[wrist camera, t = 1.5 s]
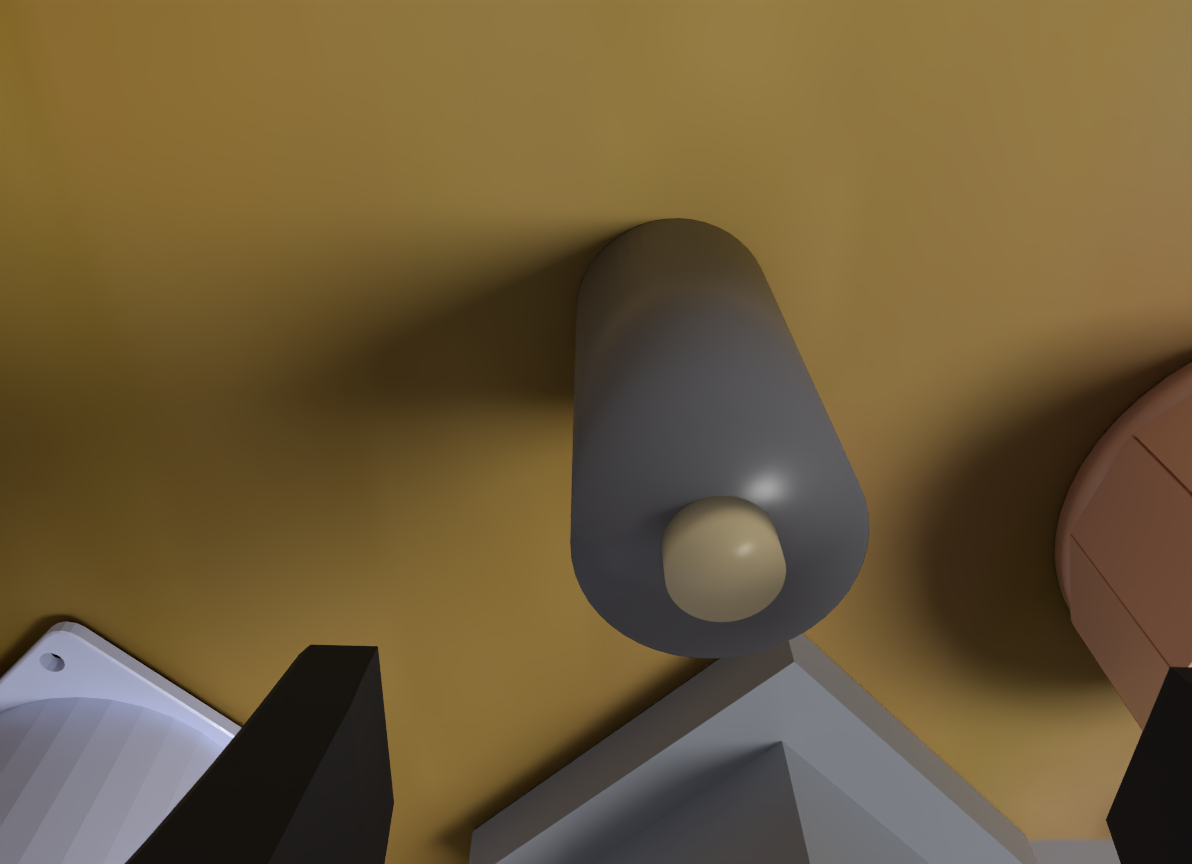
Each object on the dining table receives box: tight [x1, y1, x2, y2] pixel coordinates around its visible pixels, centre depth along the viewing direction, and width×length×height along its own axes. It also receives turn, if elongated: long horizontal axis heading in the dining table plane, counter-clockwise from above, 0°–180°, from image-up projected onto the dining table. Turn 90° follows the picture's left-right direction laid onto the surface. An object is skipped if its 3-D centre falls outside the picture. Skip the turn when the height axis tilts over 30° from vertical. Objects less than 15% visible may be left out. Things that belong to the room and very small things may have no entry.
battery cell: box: [570, 218, 869, 659], centre depth 15 cm, size 4×4×8 cm
